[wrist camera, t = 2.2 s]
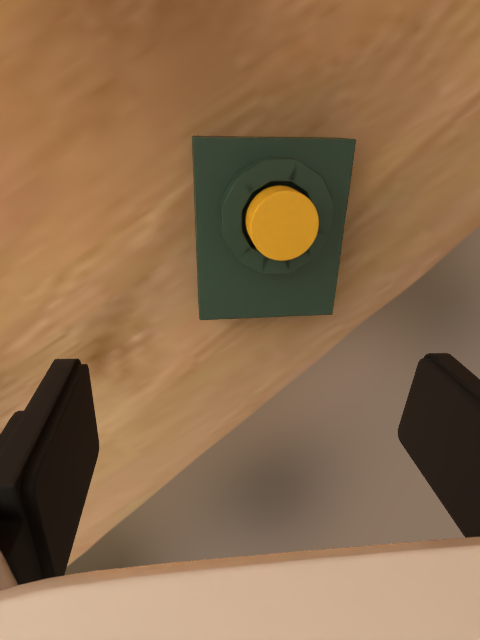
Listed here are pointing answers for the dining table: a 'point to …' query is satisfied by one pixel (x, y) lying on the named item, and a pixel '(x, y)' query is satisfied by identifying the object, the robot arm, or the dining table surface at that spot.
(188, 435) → the dining table surface
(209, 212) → the button block
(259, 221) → the yellow push button
